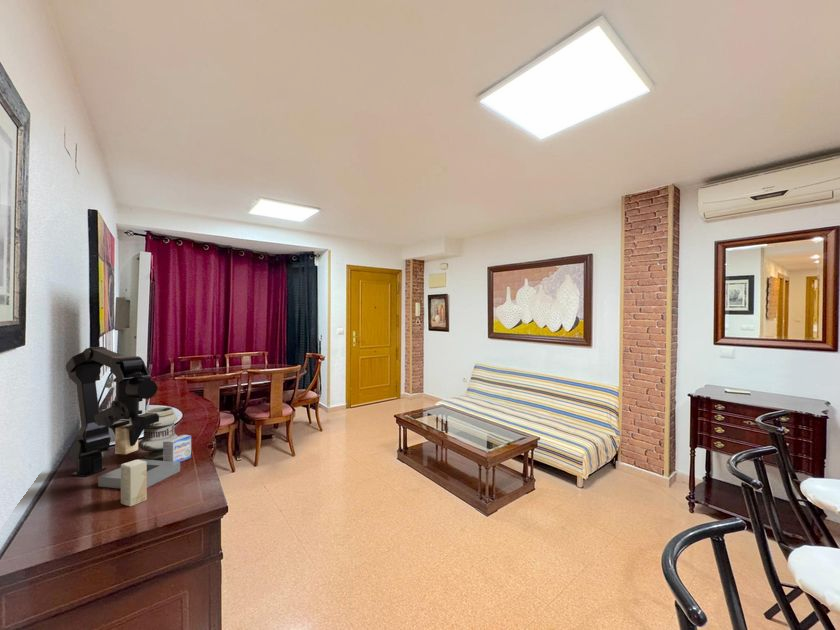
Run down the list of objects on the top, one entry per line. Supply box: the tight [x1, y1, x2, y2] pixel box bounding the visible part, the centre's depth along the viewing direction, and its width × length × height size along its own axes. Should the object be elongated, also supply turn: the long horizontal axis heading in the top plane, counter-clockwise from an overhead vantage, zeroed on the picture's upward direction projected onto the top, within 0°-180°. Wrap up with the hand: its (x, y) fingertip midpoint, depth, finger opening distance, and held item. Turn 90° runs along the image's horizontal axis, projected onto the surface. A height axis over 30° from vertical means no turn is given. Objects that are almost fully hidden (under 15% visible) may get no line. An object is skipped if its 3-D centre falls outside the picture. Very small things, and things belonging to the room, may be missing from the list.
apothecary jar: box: [138, 406, 179, 461], centre depth 134 cm, size 12×12×18 cm
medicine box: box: [162, 434, 192, 463], centre depth 129 cm, size 8×4×9 cm, turn 168°
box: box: [120, 459, 148, 507], centre depth 100 cm, size 5×4×11 cm
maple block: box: [114, 423, 139, 455], centre depth 112 cm, size 4×4×8 cm
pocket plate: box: [97, 458, 181, 489], centre depth 115 cm, size 16×14×3 cm
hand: (127, 445), depth 112 cm, fingers closed on maple block, 4 cm apart
